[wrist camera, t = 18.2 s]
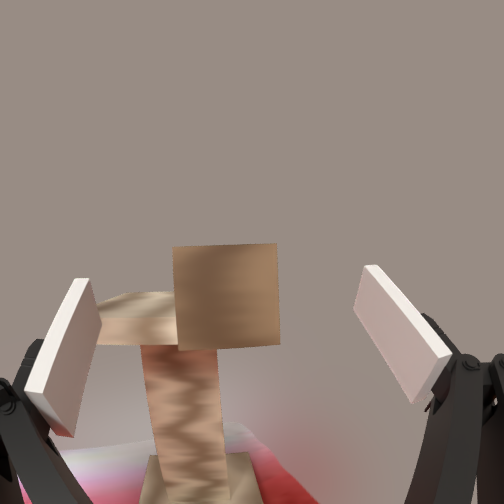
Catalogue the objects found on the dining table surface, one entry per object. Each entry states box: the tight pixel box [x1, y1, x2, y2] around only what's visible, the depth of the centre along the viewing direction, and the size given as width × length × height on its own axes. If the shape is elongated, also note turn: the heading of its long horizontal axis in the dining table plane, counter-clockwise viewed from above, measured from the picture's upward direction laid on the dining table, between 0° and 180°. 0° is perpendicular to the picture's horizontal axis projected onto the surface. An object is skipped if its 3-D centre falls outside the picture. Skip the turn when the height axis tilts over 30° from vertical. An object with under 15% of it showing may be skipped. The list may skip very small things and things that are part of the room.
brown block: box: [172, 243, 280, 351], centre depth 26 cm, size 4×28×4 cm, turn 9°
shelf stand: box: [96, 291, 263, 504], centre depth 32 cm, size 16×22×29 cm
